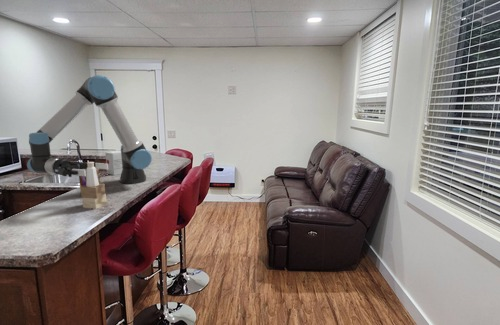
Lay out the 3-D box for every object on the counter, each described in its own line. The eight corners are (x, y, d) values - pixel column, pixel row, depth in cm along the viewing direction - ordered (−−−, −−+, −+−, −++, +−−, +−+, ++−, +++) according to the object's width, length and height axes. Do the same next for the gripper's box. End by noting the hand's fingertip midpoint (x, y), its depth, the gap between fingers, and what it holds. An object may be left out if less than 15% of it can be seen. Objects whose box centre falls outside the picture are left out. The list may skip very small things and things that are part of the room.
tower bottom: (94, 202, 139) (93, 193, 138) (106, 204, 138) (105, 194, 137) (83, 207, 133) (81, 197, 132) (95, 209, 131) (94, 198, 130)
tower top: (91, 193, 138) (90, 183, 137) (105, 193, 138) (104, 183, 137) (82, 197, 131) (80, 187, 130) (96, 198, 131) (95, 187, 130)
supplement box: (106, 173, 197) (104, 151, 194) (118, 171, 204) (117, 150, 201) (113, 175, 192) (112, 153, 189) (126, 173, 199) (124, 151, 196)
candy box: (101, 193, 154) (99, 165, 151) (97, 195, 150) (94, 167, 147) (85, 192, 154) (82, 165, 151) (80, 195, 150) (77, 166, 147)
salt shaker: (101, 183, 136) (99, 161, 134) (96, 187, 131) (93, 163, 129) (89, 183, 136) (87, 161, 134) (83, 187, 131) (81, 163, 128)
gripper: (80, 168, 149) (116, 171, 144) (34, 180, 125) (75, 184, 120) (79, 154, 147) (115, 156, 142) (32, 164, 124) (73, 167, 119)
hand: (96, 169), depth 131 cm, fingers open, 13 cm apart
